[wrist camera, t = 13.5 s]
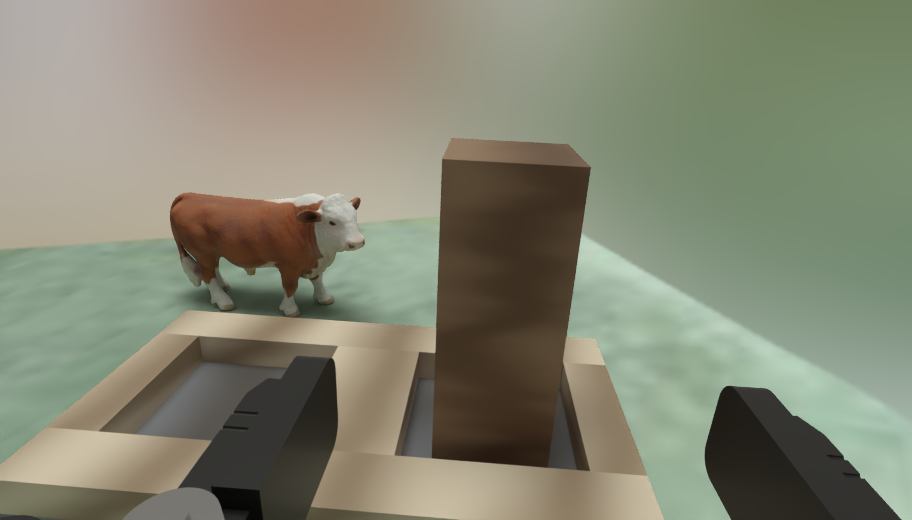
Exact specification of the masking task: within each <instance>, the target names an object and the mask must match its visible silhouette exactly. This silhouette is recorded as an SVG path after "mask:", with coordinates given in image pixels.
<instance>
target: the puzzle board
mask: <svg viewBox="0 0 912 520" xmlns="http://www.w3.org/2000/svg"><path fill="white" fill-rule="evenodd" d="M435 349H436V328H434V327H420V326H405V325H391V324H377V323H363V322H349V321H335V320H320V319H306V318H292V317H278V316H264V315H250V314H235V313H221V312H207V311H193V310H187V311H186V312H185V313H183V314H182V315H181V316H180V317H179V318H177V319H176V320H175V321H174V322H172V323H171V324H170V325H169V326H168V327H166V328H165V329H164V330H163V331H162V332H160V333H159V334H158V335H157V336H156V337H154V338H153V339H152V340H151V341H149V342H148V343H147V344H146V345H145V346H143V347H142V348H141V349H140V350H139V351H137V352H136V353H135V354H134V355H133V356H131V357H130V358H129V359H128V360H126V361H125V362H124V363H123V364H122V365H120V366H119V367H118V368H117V369H116V370H114V371H113V372H112V373H111V374H109V375H108V376H107V377H106V378H105V379H103V380H102V381H101V382H100V383H99V384H97V385H96V386H95V387H94V388H93V389H91V390H90V391H89V392H88V393H86V394H85V395H84V396H83V397H82V398H80V399H79V400H78V401H77V402H76V403H74V404H73V405H72V406H71V407H70V408H68V409H67V410H66V411H65V412H63V413H62V414H61V415H60V416H59V417H57V418H56V419H55V420H54V421H53V422H51V423H50V424H49V425H48V426H47V427H45V428H44V429H43V430H42V431H40V432H39V433H38V434H37V435H36V436H34V437H33V438H32V439H31V440H30V441H28V442H27V443H26V444H25V445H24V446H22V447H21V448H20V449H19V450H17V451H16V452H15V453H14V454H13V455H11V456H10V457H9V458H8V459H7V460H5V461H4V462H3V463H2V464H1V465H0V518H2V517H7V516H14V515H28V516H33V517H37V518H39V519H40V520H122V519H123V518H124V517H125V516H126V515H127V514H128V513H129V512H130V511H132V510H133V509H134V508H135V507H136V506H138V505H139V504H141V503H142V502H144V501H146V500H147V499H149V498H151V497H153V496H155V495H158V494H160V493H163V492H166V491H169V490H173V489H177V488H178V487H179V486H180V484H181V483H182V481H183V480H184V479H185V477H186V476H187V475H188V473H189V472H190V470H191V469H192V468H193V466H194V465H195V464H196V462H197V461H198V459H199V458H200V457H201V455H202V454H203V452H204V451H205V450H206V448H207V447H208V446H209V444H210V443H211V441H212V440H213V439H214V437H215V436H216V435H217V433H218V432H219V430H222V429H223V425H224V424H225V422H226V421H227V419H228V418H229V417H230V415H231V414H234V410H235V408H236V407H237V406H238V404H239V403H240V402H241V400H242V399H243V397H244V396H245V395H246V393H247V392H249V391H250V390H251V389H253V388H254V387H256V386H257V385H259V384H260V383H262V382H263V381H264V380H266V379H267V378H275V379H281V378H282V376H283V375H284V373H285V372H286V370H287V368H288V367H289V365H290V364H291V362H292V361H293V359H294V358H295V357H296V356H310V357H324V358H333V359H334V362H335V367H336V385H337V405H338V430H337V437H336V442H335V446H334V449H333V452H332V454H331V457H330V459H329V462H328V464H327V467H326V469H325V472H324V474H323V477H322V479H321V482H320V484H319V487H318V489H317V492H316V494H315V497H314V500H313V502H312V505H311V507H310V510H309V512H308V515H307V517H306V520H664V518H663V516H662V513H661V510H660V508H659V505H658V502H657V500H656V497H655V495H654V492H653V489H652V487H651V484H650V481H649V479H648V476H647V474H646V471H645V468H644V466H643V463H642V460H641V458H640V455H639V453H638V450H637V447H636V445H635V442H634V439H633V437H632V434H631V432H630V429H629V426H628V424H627V421H626V418H625V416H624V413H623V411H622V408H621V405H620V403H619V400H618V397H617V395H616V392H615V390H614V387H613V384H612V382H611V379H610V376H609V374H608V371H607V369H606V366H605V363H604V361H603V358H602V355H601V353H600V350H599V348H598V345H597V342H596V340H595V339H589V338H575V337H566V343H565V350H564V357H563V364H562V371H561V378H560V385H559V391H558V398H557V405H556V412H555V419H554V426H553V433H552V440H551V447H550V454H549V461H548V468H543V467H531V466H518V465H506V464H494V463H481V462H469V461H457V460H444V459H432V432H433V405H434V377H435Z"/></svg>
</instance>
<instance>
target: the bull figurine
mask: <svg viewBox="0 0 912 520" xmlns="http://www.w3.org/2000/svg"><path fill="white" fill-rule="evenodd" d="M359 205H360V198H355V199H353V200H351V201H350V202H349V201H348V199H347V198H346V197H345V196H343V195H342V194H338V193H335V194H332V195H330V196H328V197H326V198H325V197H323V196H321V195H318V194H314V193H313V194H312V193H310V194H306V195H303V196H300V197H298V198H284V199H277V200H251V199H241V198H232V197H222V196H212V195H204V194H196V193H183V194H181V195H179V196H178V197H176V198H175V200H174V201H173V203H172V206H171V211H170V222H171V228H172V232H173V236H174V238H175V241H176V243H177V246H178V249H179V253H180V259H181V263H182V266H183V269H184V271H185V273H186V274H187V276H188V277H189V280H190V281H191V282H192V283H193V284H194V285H195V286H196V287H199V286H200V285H201V281H202V280H203V281H204V283H205V284H206V285H207V287H208V289H209V291H210V293H211V303H212V304H215V303H217V305H218V306H219V309H220V310H223V311H228V310H232V309H234V308H235V307H236V304H235V303H234V302H233V301H232V299H231V297H230V296H228V295H227V294H226V293H225V292H224V291H227V290H228V289H229V288H230V285H229V284H228V283H227V282H226V281H225V280H224V279H223V278H222V276H221V274H220V272H219V259H220V257H224V258H225V259H227V260H228V261H229V262H231V263H232V264H234V265H236V266H238V267H241V268H244V269H245V270H246V272H247V274H248V275H254V274H255V270H256V268H263V267H276V268H278V269H279V271H280V273H281V278H282V286H283V289H284V298H283V300H282V303H281V305H280V306H279V309H280V310H281V311H284V313H285V316H286V317H292V318H294V317H297V316H299V315H300V311H299V309H298V307H297V305H296V304H295V301H294V293H295V292H296V290H297V287H298V279H299V277H302V278H305V279H309V280H310V281H311V282H312V284H313V286H314V295H313V297H314V299H317V300H318V301H319V303H320V304H322V305H328V304H331V303H333V302H334V298H333V297H332V296H331V295H330V294H329V293H328V292H327V291H326V288H325V287H324V285H323V283H322V273H323V272H324V271H325V269H326V268H327V267H329V266H330V265H331V264H332V263H333V261H334V259H335V255H336V252H343V251H344V250H345V251H353V250H357V249H359V248H361V247H363V246H364V244H365V239H364V237H363V236H362V235H361V234H360V233H359V230H358V227H357V219H356V210H357V208H358V207H359ZM184 248H185V249H186V250H187V251H188V252H189V253H190V254H191V255H192V256H193V257H194V258H195V259H196V261H195V260H194V259H193V258H192V257H191V256H190V255H189V254H188V253H187V252H186V250H185V249H184Z"/></svg>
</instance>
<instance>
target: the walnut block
mask: <svg viewBox="0 0 912 520" xmlns="http://www.w3.org/2000/svg"><path fill="white" fill-rule="evenodd" d="M590 169H591V167H590V166H589V165H588V164H587V163H586V162H585V161H584V160H583V159H582V158H581V157H580V156H579V155H578V154H577V153H576V152H575V151H574V150H573V149H572V148H571V147H570V146H569V145H568V144H550V143H533V142H514V141H496V140H478V139H460V138H458V139H457V138H451V141H450V143H449V145H448V148H447V150H446V152H445V154H444V156H443V159H442V181H441V210H440V237H439V265H438V293H437V321H436V349H435V377H434V405H433V432H432V459H444V460H457V461H469V462H481V463H494V464H506V465H518V466H531V467H543V468H548V461H549V454H550V447H551V440H552V433H553V426H554V419H555V412H556V405H557V398H558V391H559V385H560V378H561V371H562V364H563V357H564V350H565V343H566V336H567V329H568V322H569V315H570V308H571V301H572V294H573V287H574V280H575V273H576V266H577V259H578V252H579V246H580V239H581V232H582V224H583V217H584V211H585V204H586V197H587V190H588V182H589V176H590Z"/></svg>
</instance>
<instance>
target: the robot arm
mask: <svg viewBox="0 0 912 520" xmlns="http://www.w3.org/2000/svg"><path fill="white" fill-rule="evenodd" d="M337 430H338V405H337V385H336V367H335V362H334V359H333V358H324V357H310V356H296V357H295V358H294V359H293V361H292V362H291V364H290V365H289V367H288V368H287V370H286V372H285V373H284V375H283V376H282V378H281V379H275V378H267V379H266V380H264V381H263V382H262V383H260V384H259V385H257V386H256V387H254V388H253V389H251V390H250V391H249V392H247V393H246V395H245V396H244V397H243V399H242V400H241V402H240V403H239V404H238V406H237V407H236V408H235V410H234V414H231V415H230V417H229V418H228V419H227V421H226V422H225V424H224V425H223V429H222V430H219V432H218V433H217V435H216V436H215V437H214V439H213V440H212V441H211V443H210V444H209V446H208V447H207V448H206V450H205V451H204V452H203V454H202V455H201V457H200V458H199V459H198V461H197V462H196V464H195V465H194V466H193V468H192V469H191V470H190V472H189V473H188V475H187V476H186V477H185V479H184V480H183V481H182V483H181V484H180V486H179V487H178V488H177V489H173V490H169V491H166V492H163V493H160V494H158V495H155V496H153V497H151V498H149V499H147V500H146V501H144V502H142V503H141V504H139V505H138V506H136V507H135V508H134V509H133V510H132V511H130V512H129V513H128V514H127V515H126V516H125V517H124V518H123V519H122V520H306V517H307V515H308V512H309V510H310V507H311V505H312V502H313V500H314V497H315V494H316V492H317V489H318V487H319V484H320V482H321V479H322V477H323V474H324V472H325V469H326V467H327V464H328V462H329V459H330V457H331V454H332V452H333V449H334V446H335V442H336V437H337ZM705 465H706V470H707V473H708V476H709V479H710V481H711V483H712V484H713V486H714V488H715V490H716V492H717V494H718V496H719V498H720V499H721V501H722V503H723V505H724V507H725V509H726V511H727V512H728V514H729V516H730V518H731V520H901V519H900V518H899V516H898V515H897V514H896V513H895V512H894V511H893V510H892V509H891V508H890V507H889V505H888V504H887V503H886V502H885V501H884V500H883V499H882V498H881V497H880V496H879V494H878V493H877V492H876V491H875V490H874V489H873V488H872V487H871V486H870V485H869V483H868V482H867V481H866V480H865V479H861V478H860V474H859V472H858V471H857V470H856V469H855V468H854V467H853V466H852V465H851V464H850V462H849V461H848V460H844V456H843V455H842V454H841V453H840V451H839V450H838V449H837V448H836V447H835V446H834V445H833V444H832V443H831V442H830V440H829V439H828V438H827V437H826V436H825V435H824V434H822V433H821V432H820V431H818V430H817V429H815V428H814V427H812V426H811V425H809V424H808V423H807V422H805V421H804V420H802V419H801V418H799V417H798V416H792V414H791V413H790V412H789V411H788V410H787V409H786V408H785V406H784V405H783V404H782V403H781V402H780V401H779V399H778V398H777V397H776V396H775V395H774V394H773V393H772V392H771V391H770V390H768V389H765V388H751V387H736V386H726V387H725V388H723V390H722V391H721V393H720V396H719V399H718V403H717V407H716V410H715V414H714V417H713V421H712V425H711V428H710V432H709V435H708V439H707V443H706V447H705ZM0 520H40V519H39V518H37V517H33V516H28V515H14V516H7V517H2V518H0Z"/></svg>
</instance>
